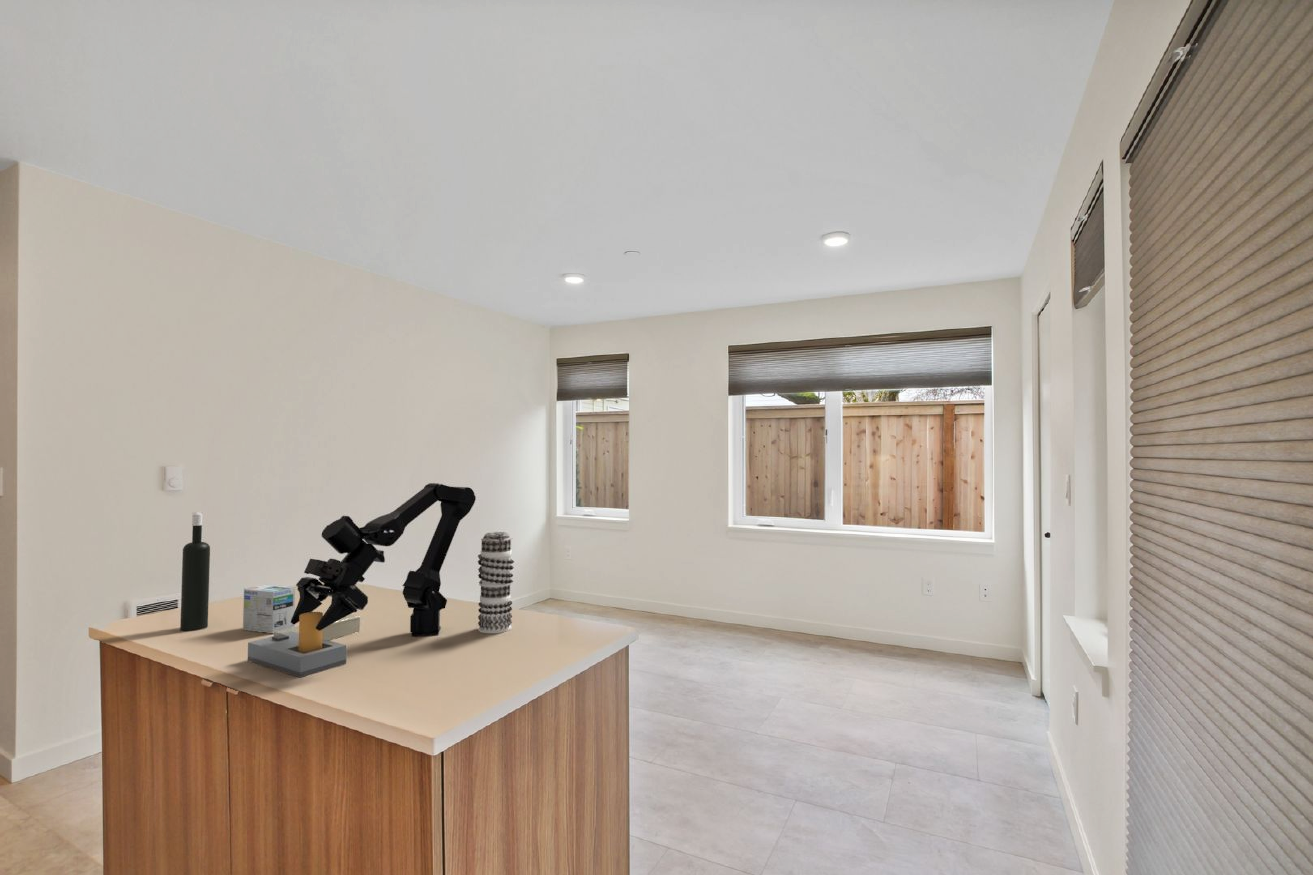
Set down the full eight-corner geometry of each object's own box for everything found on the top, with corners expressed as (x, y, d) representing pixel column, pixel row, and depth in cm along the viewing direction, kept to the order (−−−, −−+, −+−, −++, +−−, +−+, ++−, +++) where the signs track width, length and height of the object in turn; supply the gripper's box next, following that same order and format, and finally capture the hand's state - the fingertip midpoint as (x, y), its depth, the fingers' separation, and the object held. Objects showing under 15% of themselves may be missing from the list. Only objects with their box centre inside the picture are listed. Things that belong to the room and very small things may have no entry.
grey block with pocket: (346, 663, 136) (346, 642, 136) (300, 677, 127) (300, 654, 128) (293, 649, 146) (293, 629, 146) (247, 660, 138) (248, 639, 138)
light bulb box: (295, 628, 164) (296, 586, 165) (272, 634, 158) (273, 591, 158) (265, 624, 168) (266, 583, 168) (241, 630, 161) (242, 588, 162)
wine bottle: (183, 626, 165) (187, 511, 166) (209, 624, 167) (213, 511, 168) (177, 632, 159) (181, 513, 160) (205, 629, 162) (208, 512, 163)
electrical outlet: (274, 627, 148) (342, 612, 164) (273, 645, 148) (341, 628, 164) (293, 631, 145) (360, 615, 161) (292, 649, 145) (360, 631, 161)
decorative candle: (472, 627, 166) (473, 532, 167) (506, 622, 171) (507, 530, 172) (482, 635, 158) (484, 536, 159) (518, 630, 163) (519, 533, 164)
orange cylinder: (326, 658, 136) (327, 612, 136) (312, 665, 132) (313, 617, 132) (307, 657, 137) (309, 611, 137) (293, 664, 133) (294, 616, 133)
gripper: (305, 541, 143) (253, 599, 133) (356, 547, 134) (304, 610, 124) (337, 570, 150) (289, 628, 140) (388, 578, 140) (340, 641, 130)
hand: (304, 626), depth 133 cm, fingers open, 9 cm apart
